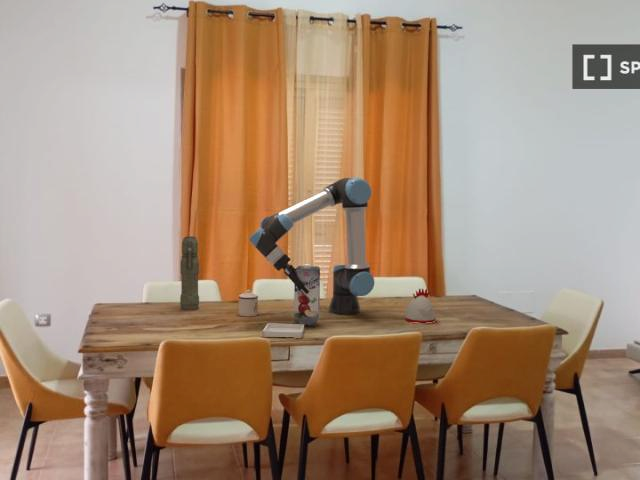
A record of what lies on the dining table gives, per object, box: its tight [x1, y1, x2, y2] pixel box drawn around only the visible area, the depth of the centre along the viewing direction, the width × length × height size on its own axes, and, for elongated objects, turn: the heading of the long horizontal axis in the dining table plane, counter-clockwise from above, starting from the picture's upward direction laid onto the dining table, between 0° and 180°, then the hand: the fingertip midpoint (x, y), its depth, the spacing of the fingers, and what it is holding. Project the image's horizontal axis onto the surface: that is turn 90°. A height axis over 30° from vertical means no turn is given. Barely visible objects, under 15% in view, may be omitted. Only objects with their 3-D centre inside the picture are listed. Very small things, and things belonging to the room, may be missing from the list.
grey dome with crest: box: [404, 288, 437, 323], centre depth 282 cm, size 14×14×15 cm
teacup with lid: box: [238, 289, 259, 318], centre depth 289 cm, size 12×9×12 cm
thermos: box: [179, 236, 200, 311], centre depth 297 cm, size 9×12×35 cm
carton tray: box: [262, 322, 305, 338], centre depth 252 cm, size 16×15×2 cm
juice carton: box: [293, 263, 321, 328], centre depth 268 cm, size 9×10×27 cm
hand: (314, 296), depth 267 cm, fingers closed on juice carton, 9 cm apart
